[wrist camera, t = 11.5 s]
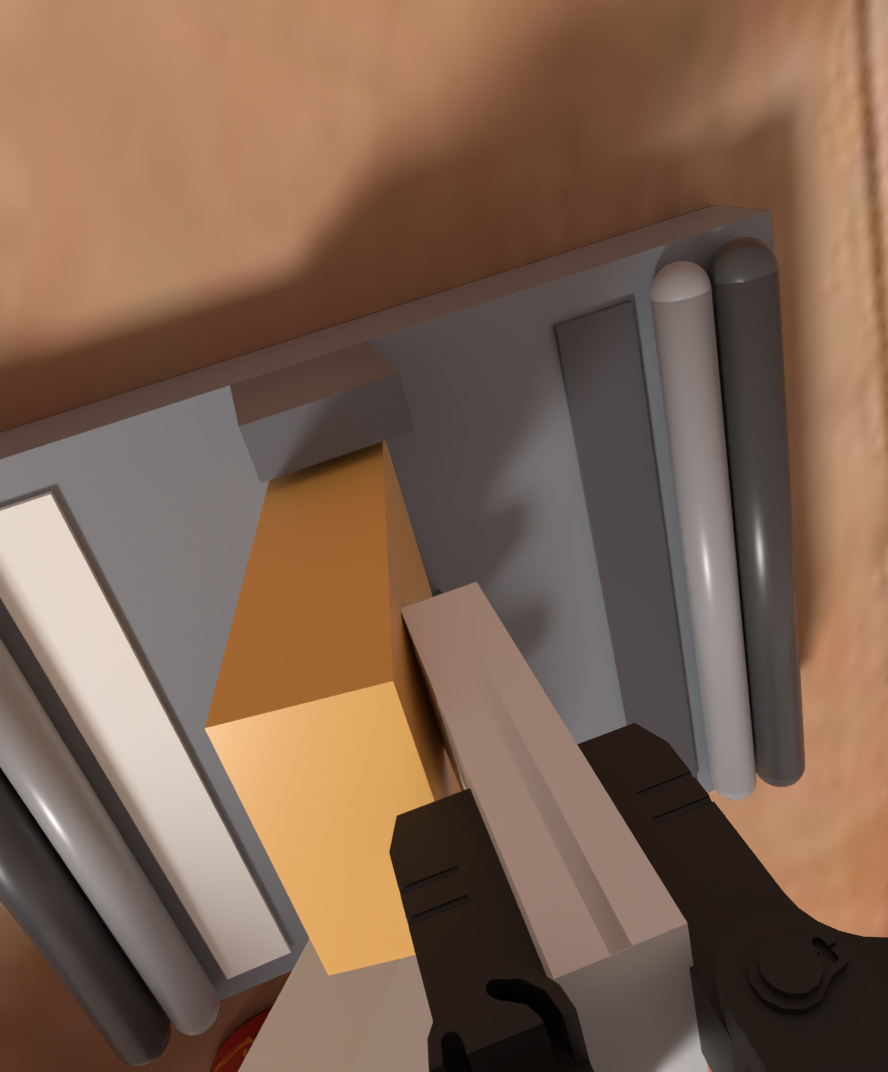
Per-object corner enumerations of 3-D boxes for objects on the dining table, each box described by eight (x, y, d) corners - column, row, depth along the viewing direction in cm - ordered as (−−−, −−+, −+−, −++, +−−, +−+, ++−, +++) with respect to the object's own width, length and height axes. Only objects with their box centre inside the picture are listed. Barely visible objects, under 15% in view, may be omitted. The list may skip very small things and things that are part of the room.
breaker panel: (757, 710, 31) (868, 817, 26) (117, 976, 27) (103, 1158, 22) (713, 205, 22) (865, 219, 17) (-214, 500, 19) (-354, 622, 14)
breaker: (525, 875, 25) (394, 1263, 18) (453, 863, 26) (301, 1226, 19) (489, 755, 23) (322, 1142, 15) (412, 746, 24) (219, 1106, 16)
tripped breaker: (435, 596, 21) (482, 939, 12) (344, 619, 21) (328, 975, 13) (381, 415, 19) (392, 681, 10) (279, 441, 19) (204, 728, 10)
